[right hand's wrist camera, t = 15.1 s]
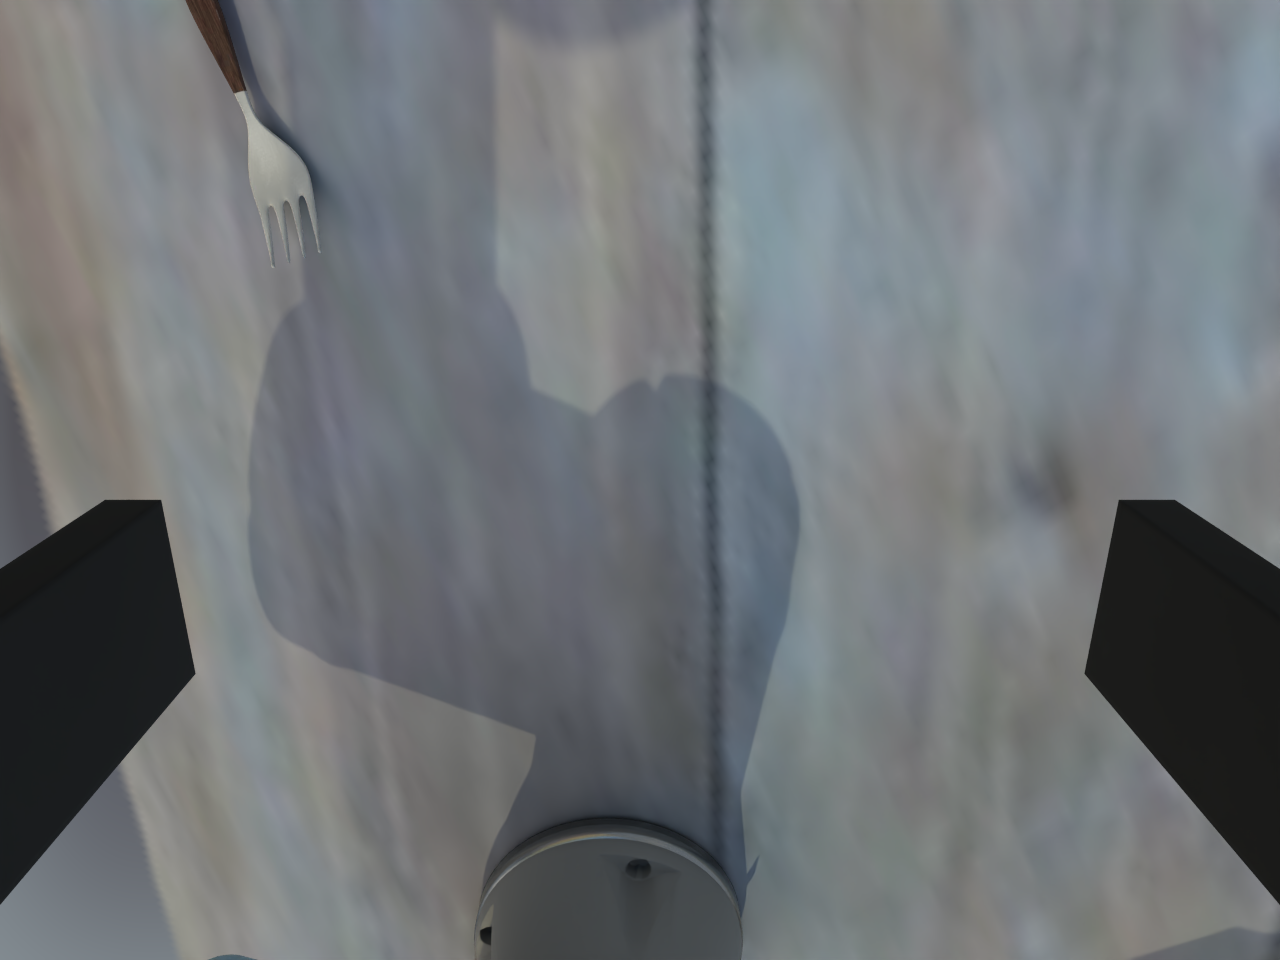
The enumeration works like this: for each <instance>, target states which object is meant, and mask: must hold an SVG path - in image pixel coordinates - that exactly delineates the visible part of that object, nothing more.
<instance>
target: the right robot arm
mask: <svg viewBox="0 0 1280 960" xmlns="http://www.w3.org/2000/svg"><path fill="white" fill-rule="evenodd" d="M194 675H195V669H194V664H193V659H192V654H191V649H190V644H189V639H188V634H187V629H186V624H185V618H184V613H183V608H182V603H181V598H180V593H179V588H178V583H177V578H176V573H175V568H174V563H173V558H172V553H171V548H170V543H169V538H168V533H167V528H166V522H165V517H164V512H163V507H162V502H161V500H104V501H103V502H101V503H100V504H98V505H97V506H95V507H94V508H92V509H91V510H89V511H88V512H86V513H85V514H83V515H82V516H80V517H78V518H77V519H75V520H74V521H72V522H71V523H69V524H68V525H66V526H65V527H63V528H62V529H60V530H59V531H57V532H56V533H54V534H53V535H51V536H50V537H48V538H47V539H45V540H44V541H42V542H41V543H39V544H37V545H36V546H34V547H33V548H31V549H30V550H28V551H27V552H25V553H24V554H22V555H21V556H19V557H18V558H16V559H15V560H13V561H12V562H10V563H9V564H7V565H6V566H4V567H2V568H1V569H0V904H1V903H2V902H3V901H4V899H5V898H6V897H7V896H8V895H9V894H10V892H11V891H12V890H13V889H14V888H15V887H16V885H17V884H18V883H19V882H20V881H21V879H22V878H23V877H24V876H25V875H26V873H27V872H28V871H29V870H30V869H31V868H32V866H33V865H34V864H35V863H36V862H37V861H38V859H39V858H40V857H41V856H42V855H43V853H44V852H45V851H46V850H47V849H48V847H49V846H50V845H51V844H52V843H53V842H54V840H55V839H56V838H57V837H58V836H59V834H60V833H61V832H62V831H63V830H64V829H65V827H66V826H67V825H68V824H69V823H70V821H71V820H72V819H73V818H74V817H75V816H76V814H77V813H78V812H79V811H80V810H81V808H82V807H83V806H84V805H85V804H86V803H87V801H88V800H89V799H90V798H91V797H92V795H93V794H94V793H95V792H96V791H97V790H98V788H99V787H100V786H101V785H102V784H103V782H104V781H105V780H106V779H107V778H108V777H109V775H110V774H111V773H112V772H113V771H114V769H115V768H116V767H117V766H118V765H119V764H120V762H121V761H122V760H123V759H124V758H125V756H126V755H127V754H128V753H129V752H130V751H131V749H132V748H133V747H134V746H135V745H136V743H137V742H138V741H139V740H140V739H141V738H142V736H143V735H144V734H145V733H146V732H147V730H148V729H149V728H150V727H151V726H152V725H153V723H154V722H155V721H156V720H157V719H158V717H159V716H160V715H161V714H162V713H163V712H164V710H165V709H166V708H167V707H168V706H169V704H170V703H171V702H172V701H173V700H174V699H175V697H176V696H177V695H178V694H179V693H180V691H181V690H182V689H183V688H184V687H185V686H186V684H187V683H188V682H189V681H190V680H191V678H192V677H193V676H194ZM1085 675H1086V676H1087V677H1088V678H1089V680H1090V681H1091V682H1092V683H1093V684H1094V686H1095V687H1096V688H1097V689H1098V690H1099V691H1100V693H1101V694H1102V695H1103V696H1104V697H1105V699H1106V700H1107V701H1108V702H1109V703H1110V704H1111V706H1112V707H1113V708H1114V709H1115V710H1116V712H1117V713H1118V714H1119V715H1120V716H1121V717H1122V719H1123V720H1124V721H1125V722H1126V723H1127V725H1128V726H1129V727H1130V728H1131V729H1132V730H1133V732H1134V733H1135V734H1136V735H1137V736H1138V738H1139V739H1140V740H1141V741H1142V742H1143V743H1144V745H1145V746H1146V747H1147V748H1148V749H1149V751H1150V752H1151V753H1152V754H1153V755H1154V756H1155V758H1156V759H1157V760H1158V761H1159V762H1160V764H1161V765H1162V766H1163V767H1164V768H1165V769H1166V771H1167V772H1168V773H1169V774H1170V775H1171V777H1172V778H1173V779H1174V780H1175V781H1176V782H1177V784H1178V785H1179V786H1180V787H1181V788H1182V790H1183V791H1184V792H1185V793H1186V794H1187V795H1188V797H1189V798H1190V799H1191V800H1192V801H1193V803H1194V804H1195V805H1196V806H1197V807H1198V808H1199V810H1200V811H1201V812H1202V813H1203V814H1204V816H1205V817H1206V818H1207V819H1208V820H1209V821H1210V823H1211V824H1212V825H1213V826H1214V827H1215V829H1216V830H1217V831H1218V832H1219V833H1220V835H1221V836H1222V837H1223V838H1224V839H1225V840H1226V842H1227V843H1228V844H1229V845H1230V846H1231V848H1232V849H1233V850H1234V851H1235V852H1236V853H1237V855H1238V856H1239V857H1240V858H1241V859H1242V861H1243V862H1244V863H1245V864H1246V865H1247V866H1248V868H1249V869H1250V870H1251V871H1252V872H1253V874H1254V875H1255V876H1256V877H1257V878H1258V879H1259V881H1260V882H1261V883H1262V884H1263V885H1264V887H1265V888H1266V889H1267V890H1268V891H1269V892H1270V894H1271V895H1272V896H1273V897H1274V898H1275V900H1276V901H1277V902H1278V903H1279V904H1280V569H1279V568H1278V567H1276V566H1274V565H1273V564H1271V563H1270V562H1268V561H1267V560H1265V559H1264V558H1262V557H1261V556H1259V555H1258V554H1256V553H1255V552H1253V551H1252V550H1250V549H1249V548H1247V547H1246V546H1244V545H1243V544H1241V543H1240V542H1238V541H1236V540H1235V539H1233V538H1232V537H1230V536H1229V535H1227V534H1226V533H1224V532H1223V531H1221V530H1220V529H1218V528H1217V527H1215V526H1214V525H1212V524H1211V523H1209V522H1208V521H1206V520H1205V519H1203V518H1202V517H1200V516H1198V515H1197V514H1195V513H1194V512H1192V511H1191V510H1189V509H1188V508H1186V507H1185V506H1183V505H1182V504H1180V503H1179V502H1177V501H1176V500H1119V502H1118V507H1117V512H1116V517H1115V522H1114V528H1113V533H1112V538H1111V543H1110V548H1109V553H1108V558H1107V563H1106V568H1105V573H1104V578H1103V583H1102V588H1101V593H1100V598H1099V603H1098V608H1097V613H1096V618H1095V624H1094V629H1093V634H1092V639H1091V644H1090V649H1089V654H1088V659H1087V664H1086V669H1085ZM474 941H475V958H476V960H741V954H742V945H743V937H742V926H741V918H740V910H739V905H738V900H737V897H736V894H735V891H734V889H733V886H732V884H731V882H730V880H729V879H728V877H727V875H726V874H725V872H724V871H723V870H722V868H721V867H720V866H719V864H718V863H717V862H716V861H715V860H714V859H713V858H712V857H711V856H710V855H709V854H708V853H707V852H705V851H704V850H703V849H702V848H701V847H699V846H698V845H696V844H695V843H693V842H692V841H690V840H689V839H687V838H685V837H683V836H681V835H680V834H677V833H675V832H673V831H671V830H668V829H666V828H663V827H660V826H657V825H653V824H650V823H646V822H641V821H635V820H629V819H618V818H599V819H587V820H580V821H575V822H570V823H566V824H562V825H559V826H556V827H553V828H550V829H548V830H546V831H543V832H541V833H539V834H537V835H535V836H533V837H531V838H529V839H528V840H526V841H525V842H523V843H522V844H520V845H519V846H517V847H516V848H515V849H514V850H512V851H511V852H510V853H509V854H508V855H507V856H506V857H505V858H504V859H503V860H502V861H501V862H500V863H499V865H498V866H497V867H496V868H495V870H494V871H493V873H492V874H491V876H490V878H489V879H488V882H487V884H486V886H485V888H484V891H483V894H482V897H481V901H480V906H479V911H478V915H477V920H476V925H475V935H474ZM209 960H256V959H252V958H248V957H244V956H241V955H222V956H217V957H215V958H212V959H209Z"/></svg>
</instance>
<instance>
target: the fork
mask: <svg viewBox="0 0 1280 960" xmlns="http://www.w3.org/2000/svg"><path fill="white" fill-rule="evenodd" d="M186 2H187V5H188V7H189V9H190V11H191V13H192V16H193V18H194V20H195V22H196V24H197V26H198V28H199V29H200V31H201V33H202V35H203V37H204V39H205V41H206V43H207V45H208V46H209V48H210V50H211V52H212V54H213V56H214V57H215V59H216V61H217V63H218V65H219V67H220V68H221V70H222V72H223V74H224V76H225V78H226V80H227V81H228V83H229V85H230V87H231V89H232V91H233V93H234V94H235V96H236V98H237V100H238V102H239V104H240V106H241V108H242V111H243V113H244V115H245V118H246V122H247V127H248V170H249V178H250V184H251V188H252V192H253V195H254V198H255V201H256V204H257V207H258V210H259V213H260V217H261V221H262V224H263V229H264V233H265V237H266V241H267V245H268V250H269V254H270V259H271V266H272V268H275V262H274V253H273V243H272V235H271V227H270V220H269V207H270V206H273V207H274V209H275V212H276V215H277V218H278V223H279V227H280V231H281V235H282V239H283V243H284V247H285V252H286V256H287V261H288V263H290V253H289V244H288V236H287V228H286V220H285V214H284V202H285V201H288V202H289V204H290V206H291V209H292V212H293V216H294V220H295V224H296V228H297V232H298V236H299V241H300V245H301V249H302V254H303V257H304V258H306V254H305V244H304V236H303V228H302V220H301V213H300V206H299V198H300V196H304V198H305V200H306V203H307V206H308V210H309V214H310V217H311V221H312V225H313V229H314V233H315V237H316V242H317V246H318V252H319V253H322V251H321V244H320V235H319V227H318V219H317V212H316V206H315V200H314V194H313V188H312V183H311V178H310V174H309V171H308V169H307V167H306V165H305V163H304V162H303V160H302V159H301V157H300V156H299V155H298V154H297V153H296V152H295V151H294V150H293V149H292V148H291V147H290V146H289V145H287V144H286V143H285V142H284V141H283V140H281V139H280V138H279V137H277V136H276V135H275V134H274V133H272V132H271V131H270V130H269V129H268V128H267V127H265V126H264V125H263V124H262V123H261V121H260V120H259V119H258V118H257V116H256V114H255V112H254V110H253V108H252V105H251V103H250V100H249V97H248V94H247V90H246V87H245V84H244V81H243V77H242V74H241V71H240V67H239V64H238V61H237V57H236V54H235V51H234V47H233V44H232V41H231V37H230V34H229V31H228V28H227V25H226V22H225V19H224V16H223V13H222V10H221V7H220V5H219V2H218V0H186Z"/></svg>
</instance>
